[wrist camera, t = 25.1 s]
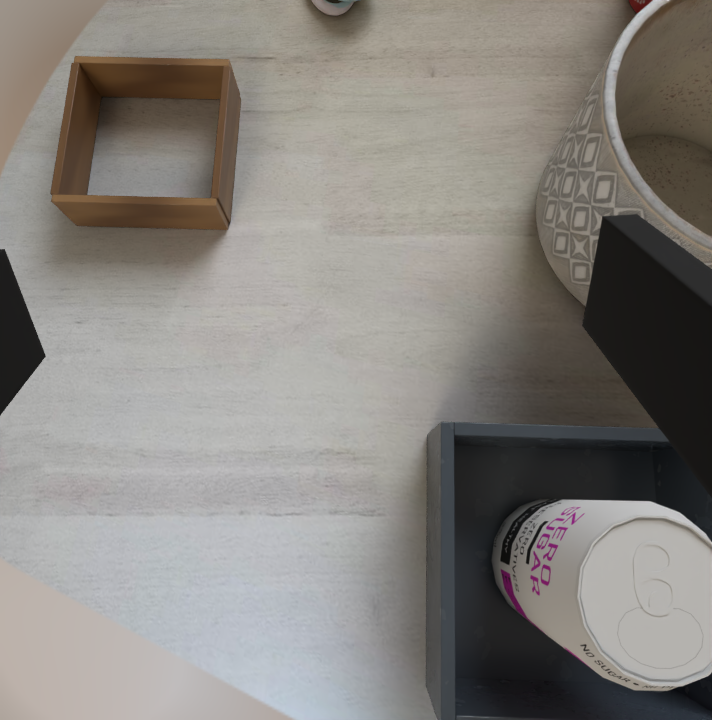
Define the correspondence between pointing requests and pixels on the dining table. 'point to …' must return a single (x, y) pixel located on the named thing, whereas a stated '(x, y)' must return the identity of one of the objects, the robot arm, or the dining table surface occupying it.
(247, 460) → the dining table surface
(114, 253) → the dining table surface
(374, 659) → the dining table surface
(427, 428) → the dining table surface
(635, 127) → the planter
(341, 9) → the pacifier
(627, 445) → the grey storage bin
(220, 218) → the box
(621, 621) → the supplement can
